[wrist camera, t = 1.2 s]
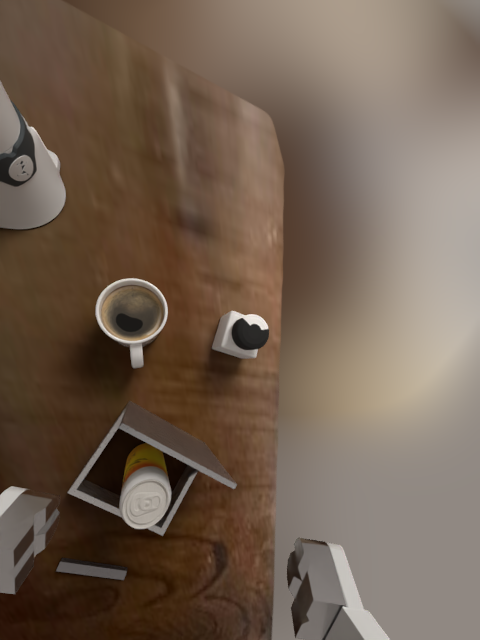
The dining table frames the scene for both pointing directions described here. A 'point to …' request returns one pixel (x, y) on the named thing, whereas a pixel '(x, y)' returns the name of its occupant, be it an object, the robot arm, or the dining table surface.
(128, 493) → the beer can
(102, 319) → the mug
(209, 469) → the case
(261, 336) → the medicine bottle
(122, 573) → the bar
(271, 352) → the dining table surface
